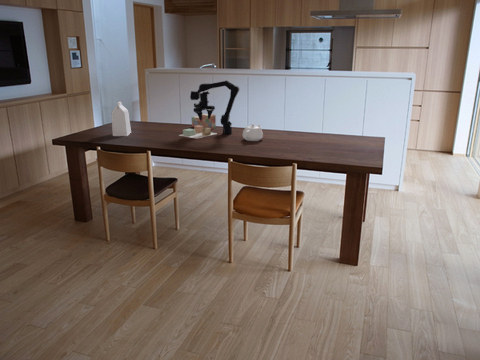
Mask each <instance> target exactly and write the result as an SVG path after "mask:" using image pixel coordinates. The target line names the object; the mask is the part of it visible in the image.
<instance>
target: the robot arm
mask: <svg viewBox="0 0 480 360" xmlns="http://www.w3.org/2000/svg"><path fill="white" fill-rule="evenodd" d="M221 87H226V88H227V89H228V90H230V96H229V100H228V102H227V106H226V108H225V112H224V114H222V115H221V116H220V117H221V118H220V124H221V126H223V127H222V135H226V136H230V135H233V127H232V124H233V123H232V122H231V121H230V114H231V111H232V110H233V109H232V108H233V106H234V102H235V100H236V97H237V95H238V93H239V92H240V87H239V86H238V85H235V84H234V83H232V82H230V81H229V80H223V81H219V82H212V83H209V82H208V83H201V84H199V86H198V90H197V91H194V90H192V91H190V96H189V97H190V100H191V101H198V103H197V102H195V103H193V107H194V108H193V113H195V114H197V116H198V117H199V119H200V121H201V120H202V114H203V111H206V112H207V114H208V119H210V116H211V114H212V115H213V112H214V110H216V107H215V105H209V102H210V101H208V95H210V94H211V93H210V92H209V90H211V89H217V88H221Z"/></svg>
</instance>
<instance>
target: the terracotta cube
mask: <svg viewBox="0 0 480 360" xmlns="http://www.w3.org/2000/svg"><path fill="white" fill-rule="evenodd" d="M193 129H195V131H196V133H201V132H202V129H203V126H200V125H197V126H194V127H193Z"/></svg>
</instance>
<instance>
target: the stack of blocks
mask: <svg viewBox="0 0 480 360" xmlns="http://www.w3.org/2000/svg"><path fill="white" fill-rule="evenodd" d="M216 121H217V119H216V114H213V113H212V114H211V116H210V119H208V113H202V120H201V121H200V119H199V116H198V115H195V116H192V117H191V127H192V128H194V126H197V125H200V126H203V128H211V130H215V129H217V127H216V126H217V124H216V123H217V122H216Z"/></svg>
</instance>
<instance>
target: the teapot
mask: <svg viewBox="0 0 480 360" xmlns="http://www.w3.org/2000/svg"><path fill="white" fill-rule="evenodd" d="M242 137H243V139H244V140H246V141H248V142H259V141H260V140H261V139H262V138H263V137H264V133H263V130H262V127H261V124H258V125H256V124H255V123H251V125H246V126H245V128H244V129H243V131H242Z"/></svg>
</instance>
